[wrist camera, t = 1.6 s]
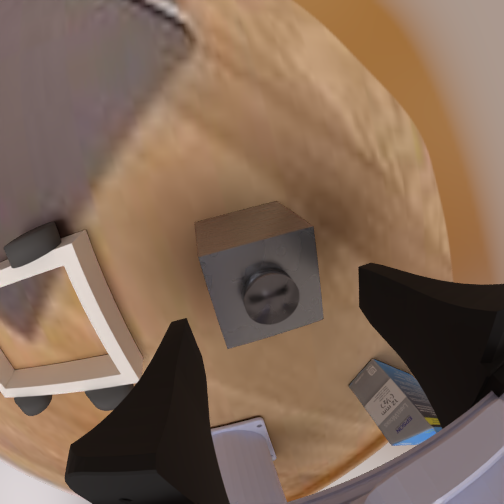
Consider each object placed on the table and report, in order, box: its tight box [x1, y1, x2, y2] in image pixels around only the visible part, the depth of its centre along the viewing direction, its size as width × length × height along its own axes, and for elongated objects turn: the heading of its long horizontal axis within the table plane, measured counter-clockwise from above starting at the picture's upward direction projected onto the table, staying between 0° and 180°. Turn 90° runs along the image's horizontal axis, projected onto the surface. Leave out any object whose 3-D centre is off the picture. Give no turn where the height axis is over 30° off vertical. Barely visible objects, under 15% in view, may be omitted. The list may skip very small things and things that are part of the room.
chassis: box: [0, 222, 143, 416], centre depth 15 cm, size 12×14×4 cm
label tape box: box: [349, 359, 442, 446], centre depth 21 cm, size 9×4×12 cm, turn 55°
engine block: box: [195, 201, 323, 349], centre depth 15 cm, size 5×5×6 cm
